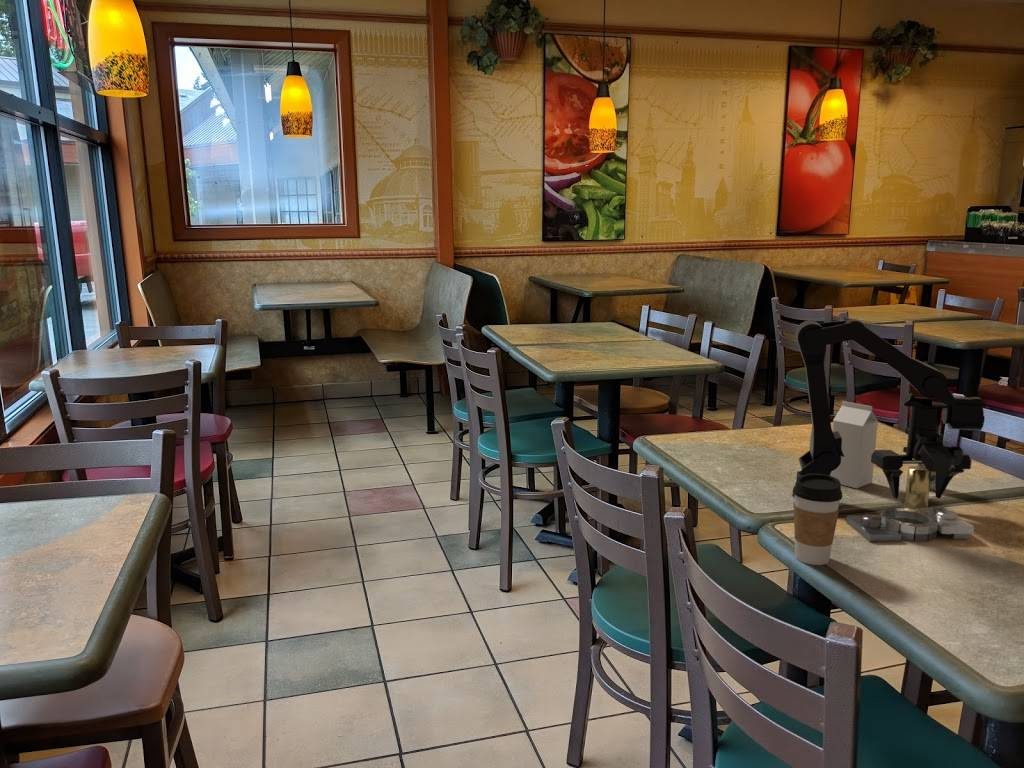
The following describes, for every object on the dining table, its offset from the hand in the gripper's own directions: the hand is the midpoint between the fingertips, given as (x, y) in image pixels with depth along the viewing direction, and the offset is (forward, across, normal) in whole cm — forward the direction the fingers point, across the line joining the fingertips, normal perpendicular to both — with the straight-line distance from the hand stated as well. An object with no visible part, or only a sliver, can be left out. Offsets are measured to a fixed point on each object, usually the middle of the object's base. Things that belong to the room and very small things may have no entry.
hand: (916, 498), depth 169 cm
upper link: (+3, -5, -12) cm, 13 cm away
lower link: (+3, -10, -12) cm, 16 cm away
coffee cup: (+3, -32, -24) cm, 40 cm away
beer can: (+3, +10, +14) cm, 17 cm away
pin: (+2, 0, 0) cm, 2 cm away
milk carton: (+3, -6, +18) cm, 19 cm away
